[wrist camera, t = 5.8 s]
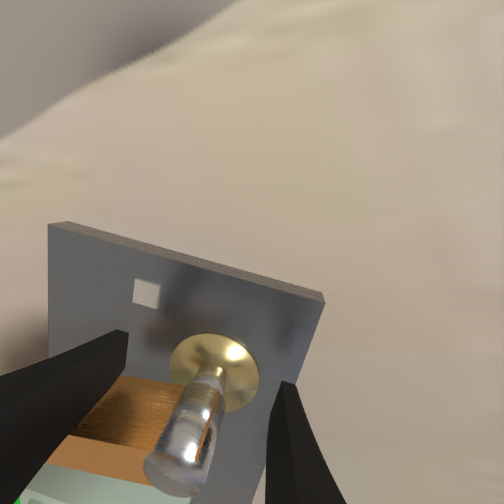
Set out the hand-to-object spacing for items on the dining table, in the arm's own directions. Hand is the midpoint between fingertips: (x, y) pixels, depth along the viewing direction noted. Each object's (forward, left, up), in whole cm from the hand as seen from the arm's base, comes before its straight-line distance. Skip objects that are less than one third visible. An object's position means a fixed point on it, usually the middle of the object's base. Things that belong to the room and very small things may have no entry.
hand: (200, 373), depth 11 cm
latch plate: (+3, +7, -3) cm, 8 cm away
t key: (0, +2, -2) cm, 3 cm away
